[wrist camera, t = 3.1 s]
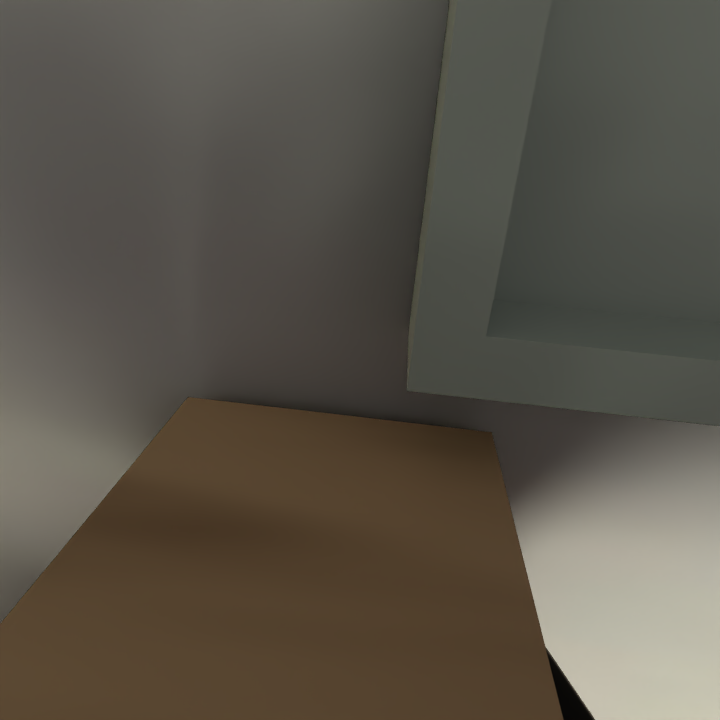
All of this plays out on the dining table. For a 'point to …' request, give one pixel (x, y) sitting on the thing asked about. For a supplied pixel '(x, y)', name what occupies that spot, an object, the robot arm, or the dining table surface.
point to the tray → (574, 209)
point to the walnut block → (287, 581)
